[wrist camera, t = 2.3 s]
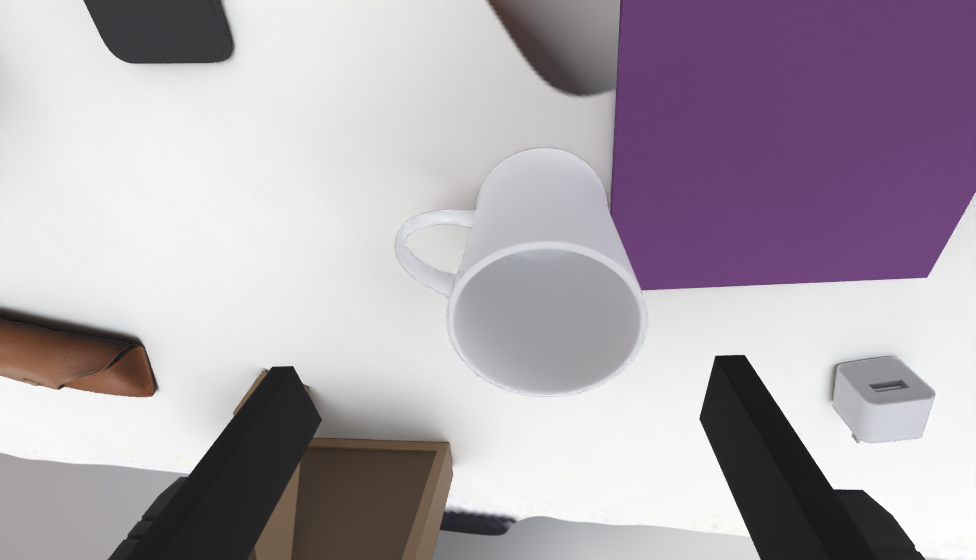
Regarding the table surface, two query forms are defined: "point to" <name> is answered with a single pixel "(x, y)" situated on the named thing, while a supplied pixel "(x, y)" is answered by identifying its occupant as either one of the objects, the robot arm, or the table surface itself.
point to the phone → (162, 30)
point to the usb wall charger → (882, 400)
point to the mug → (538, 279)
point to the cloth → (791, 138)
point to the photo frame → (359, 501)
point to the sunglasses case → (73, 361)
